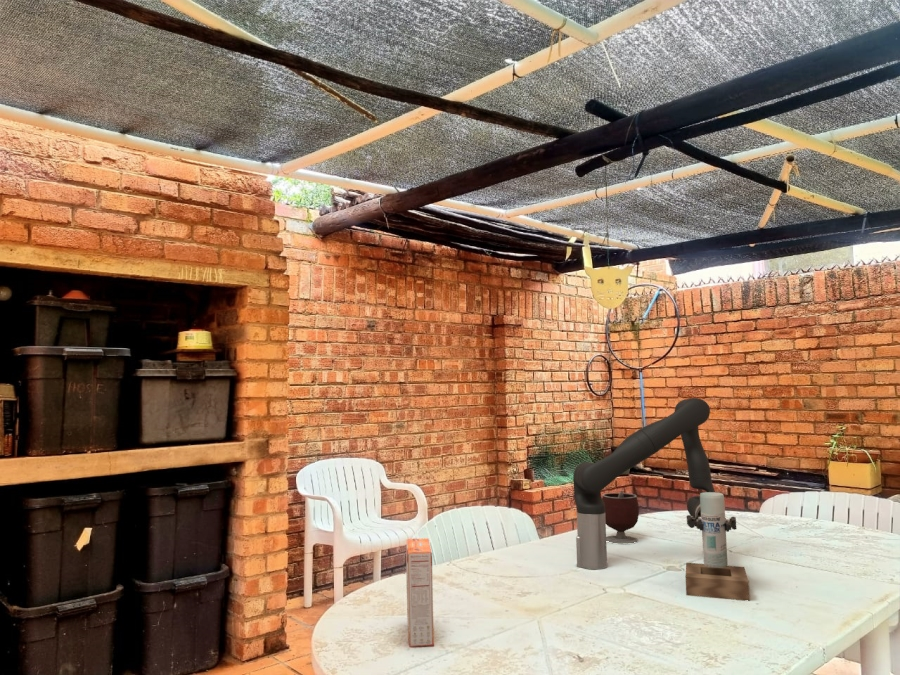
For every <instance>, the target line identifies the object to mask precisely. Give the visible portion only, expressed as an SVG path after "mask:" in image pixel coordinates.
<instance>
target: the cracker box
mask: <svg viewBox="0 0 900 675" xmlns="http://www.w3.org/2000/svg"><path fill="white" fill-rule="evenodd" d="M405 545H406V546H405V547H406V548H405V549H406V552H405V555H406V556H405V559H406V560H405V561H406V564H405V565H406V566H405V567H406V610H407V611H406V613H407V614H406V615H407V616H406V619H407V634H408V635H407V636H408V645H409V648H418V647H431V646H433V647H434V646H435V642H434V640H435V638H434V637H435V635H434V597H433V596H434V594H433V593H434V588H433V586H434V585H433V551H432V548H431V543H430V538H426V537H425V538H407V539H406V544H405Z"/></svg>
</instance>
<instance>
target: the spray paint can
mask: <svg viewBox="0 0 900 675" xmlns="http://www.w3.org/2000/svg"><path fill="white" fill-rule="evenodd" d="M699 496H700V507H701V522H702V526H703V531H701V535H702V536H701V537H702V549H703V550H702V553H703V564H704V565H706V566H708V567H713V568H725V567H727V566H728V548H727V532H726V524H725V518H726V508H725V505H726V504H725V496H724V494H723V493H721V492H716V491H715V492H706V491H705V492H700V494H699Z"/></svg>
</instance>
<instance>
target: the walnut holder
mask: <svg viewBox="0 0 900 675" xmlns="http://www.w3.org/2000/svg"><path fill="white" fill-rule="evenodd" d="M749 583H750V582H749V579H748V574H747V572H746V569H745V566H738V565H737V566H736V565H727V567H725V568H713V567H708V566H706V565H704V563H698V562H697V563H696V562H686V563H685V594H686V596H691V597H693V596H694V597H702V598H703V597H704V598H712V599H713V598H715V599H725V600H726V599H727V600H734V599H736V600H737V601H745V600H748V601H747V602H750V601H751V600H750V584H749ZM736 600H735V601H736Z"/></svg>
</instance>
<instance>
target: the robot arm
mask: <svg viewBox="0 0 900 675" xmlns="http://www.w3.org/2000/svg"><path fill="white" fill-rule="evenodd" d="M710 414H711V407H710V405H709V403H708V402H706V401H705V400H704V399H701V398H698V397H697V398H696V397H691V398H686V399H682V400H680V401H679V402H677V403H676V405H675V407H674V412H672V413H671V414H670V415H668V416H666V417H664V418H661V419H659V420H656V421H653V422H652V423H650V424H647V425H645V426H643V427H641V428H639V429H638V430H635V432H633V433H631V434H630V435H629V436H627V437H626V438H624V439H623V441H622V442H620V444H619V445H618V446H617V447H616V449H614V451H613V452H611V453H610V454H608V455H607V456H605V457H604V458H602V459H599V460H598V461H595V462H594V463H593V462H588V461H586V462H585V461H583V462H580V463H578V465H577V466H576V467H575V469H574V470H573V471H574V472H573V476H572V479H573V480H572V482H573V497H574V504H575V506H576V524H577V525H576V528H577V532H576V533H577V535H576V537H575V541H576V544H575V545H576V548H575V549H576V566H577V567H578V568H583V569H586V570H601V569H605V568H607V567H608V557H607V556H608V551H607V547H608V546H607V542H606V537H607V525H606V518H605V504H604V502H603V500H602V497H603V496H602V490H604V489H605V488H606V487H607V486H609V485H610V484H611V483H612V482H613V481H615V480H616V479H617V478H618V477H620V475H621V476H622V474H624V473H625V472H627V471H629V470H630V469H633V467H635V466H637V465H639V464H640V463H641V462H644V461H645V460H647V459H649V458H651V457H652V456H653V455H655V454H656V453H658V452H659V451H660V450H662V449H663V448H665V447H666V446H668V445H670V444H671V443H672V442H673V441H675V439H677V438H679V437H681V441H682V445H683V449H684V454H685V460H686V468H687V473H688V479H689V480H688V482H689V486H690V487H691V488H692V489H695V490H701V491H705V492H715V493H716V491H715V487H714V485H713V480H712V473H711V472H712V471H711V467H710V463H709V459H708V456H707V454H706V451H705V449H704V447H703V446H704V445H703V444H702V441H701V438H700V437H701V436H700V432H699V426H701V425H702V424H704V423H705V422H707V420H708V419H709V417H710ZM686 509H687V511H688V514H687V515H686V525H687V526H688V527H689V528H690V529H693V528H696V529H697V530H699V531H701V532H702V531H703V526H702V522H701V507H700V495H696V496H691V497H689V498H688V500H687V502H686ZM725 524H726V533H729V532H730V531H732V530H737V519H736V516H731V517H729V518H726V517H725Z"/></svg>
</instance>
